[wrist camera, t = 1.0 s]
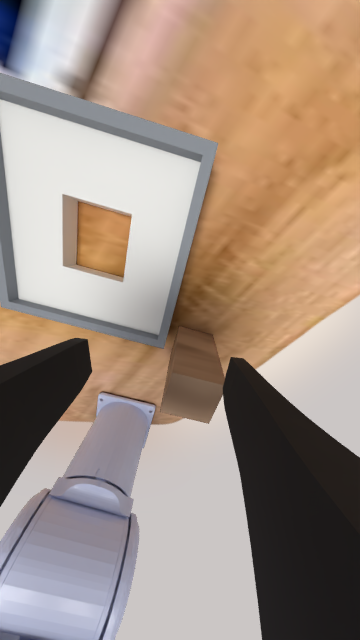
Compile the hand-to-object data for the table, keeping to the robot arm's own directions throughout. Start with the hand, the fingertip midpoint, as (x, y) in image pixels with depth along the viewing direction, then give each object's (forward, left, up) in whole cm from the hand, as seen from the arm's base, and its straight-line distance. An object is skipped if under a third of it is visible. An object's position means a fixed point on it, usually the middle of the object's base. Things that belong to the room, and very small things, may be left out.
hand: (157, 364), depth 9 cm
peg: (-4, -3, -10) cm, 12 cm away
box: (+4, +8, -10) cm, 14 cm away
